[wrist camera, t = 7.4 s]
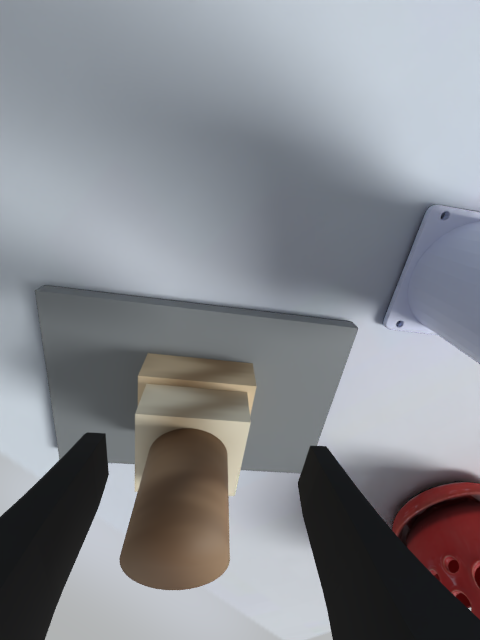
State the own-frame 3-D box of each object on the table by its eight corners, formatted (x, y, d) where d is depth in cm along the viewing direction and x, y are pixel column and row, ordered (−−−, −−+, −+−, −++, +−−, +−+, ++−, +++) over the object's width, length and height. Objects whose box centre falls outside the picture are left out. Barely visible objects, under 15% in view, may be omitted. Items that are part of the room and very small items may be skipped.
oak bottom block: (252, 363, 20) (256, 386, 18) (237, 438, 23) (239, 466, 20) (147, 353, 19) (138, 375, 17) (146, 432, 22) (137, 460, 20)
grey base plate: (352, 322, 20) (358, 328, 19) (303, 463, 26) (306, 473, 25) (44, 285, 18) (34, 290, 17) (65, 449, 24) (59, 459, 23)
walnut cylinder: (229, 428, 16) (232, 528, 11) (225, 483, 17) (226, 588, 13) (145, 427, 15) (113, 530, 11) (150, 484, 17) (124, 591, 13)
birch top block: (247, 392, 18) (250, 422, 16) (233, 461, 20) (234, 495, 18) (146, 383, 17) (135, 413, 15) (144, 455, 20) (134, 491, 17)
